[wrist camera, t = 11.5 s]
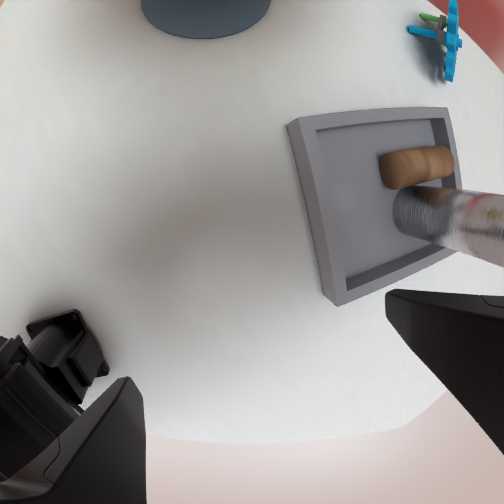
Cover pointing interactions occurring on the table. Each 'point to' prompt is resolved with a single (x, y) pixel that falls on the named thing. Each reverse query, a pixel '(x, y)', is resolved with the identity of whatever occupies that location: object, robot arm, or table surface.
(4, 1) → the table surface
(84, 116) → the table surface
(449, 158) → the rod
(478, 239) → the sleeve
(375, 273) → the tray
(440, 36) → the gear
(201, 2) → the cocktail glass
